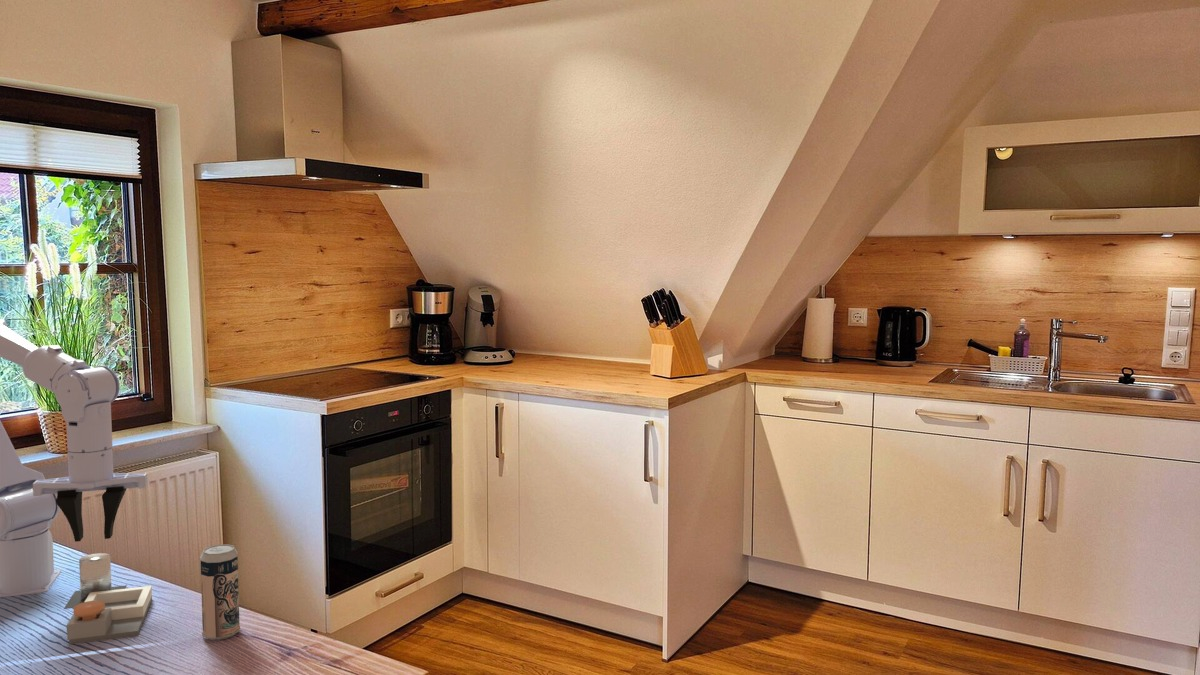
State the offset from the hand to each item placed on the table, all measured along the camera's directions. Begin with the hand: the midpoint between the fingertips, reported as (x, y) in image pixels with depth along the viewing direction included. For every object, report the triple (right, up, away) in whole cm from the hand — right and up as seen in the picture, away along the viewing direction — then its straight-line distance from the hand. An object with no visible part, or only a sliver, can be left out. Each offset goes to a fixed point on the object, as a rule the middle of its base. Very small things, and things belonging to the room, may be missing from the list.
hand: (93, 538), depth 125 cm
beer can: (+24, -11, -11) cm, 29 cm away
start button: (+7, -9, -12) cm, 17 cm away
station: (+7, -10, -8) cm, 15 cm away
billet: (0, -9, +1) cm, 9 cm away
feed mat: (0, -9, +1) cm, 9 cm away
